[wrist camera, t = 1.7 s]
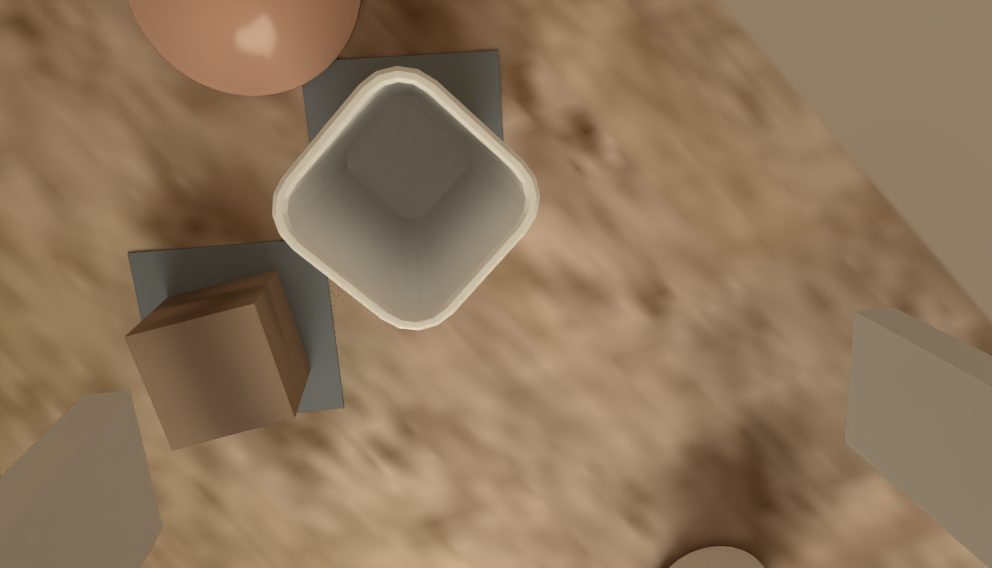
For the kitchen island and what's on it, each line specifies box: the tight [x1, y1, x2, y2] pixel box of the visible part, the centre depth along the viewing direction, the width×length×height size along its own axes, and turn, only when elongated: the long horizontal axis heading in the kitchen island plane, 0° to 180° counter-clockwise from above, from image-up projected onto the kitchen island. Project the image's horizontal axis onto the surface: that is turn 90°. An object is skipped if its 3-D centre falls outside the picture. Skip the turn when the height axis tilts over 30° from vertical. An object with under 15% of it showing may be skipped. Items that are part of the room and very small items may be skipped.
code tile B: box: [128, 240, 344, 413], centre depth 40 cm, size 10×10×1 cm
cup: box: [272, 66, 540, 330], centre depth 31 cm, size 7×7×15 cm
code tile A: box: [302, 51, 503, 143], centre depth 38 cm, size 10×10×1 cm
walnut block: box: [125, 270, 311, 450], centre depth 37 cm, size 6×6×6 cm
